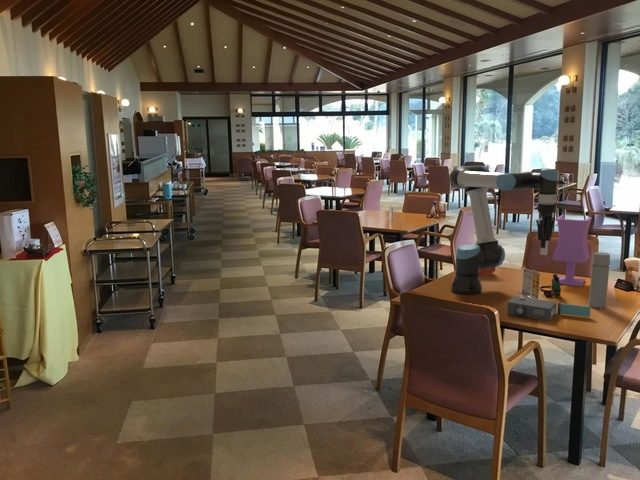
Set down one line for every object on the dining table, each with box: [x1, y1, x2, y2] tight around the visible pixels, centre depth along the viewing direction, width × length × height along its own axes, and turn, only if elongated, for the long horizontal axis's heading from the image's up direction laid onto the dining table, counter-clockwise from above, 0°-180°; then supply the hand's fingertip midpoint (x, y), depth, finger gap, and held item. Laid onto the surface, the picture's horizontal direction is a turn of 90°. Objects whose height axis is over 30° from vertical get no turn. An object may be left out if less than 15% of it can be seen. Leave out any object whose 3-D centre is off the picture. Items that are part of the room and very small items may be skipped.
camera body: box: [506, 295, 558, 322], centre depth 250 cm, size 18×14×6 cm
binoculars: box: [539, 273, 563, 299], centre depth 278 cm, size 9×11×10 cm
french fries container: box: [479, 267, 496, 276], centre depth 322 cm, size 5×11×18 cm, turn 89°
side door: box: [556, 301, 592, 318], centre depth 248 cm, size 2×13×5 cm, turn 64°
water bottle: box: [588, 251, 611, 309], centre depth 260 cm, size 9×8×25 cm
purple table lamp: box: [552, 215, 593, 288], centre depth 301 cm, size 16×16×35 cm
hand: (543, 254), depth 259 cm, fingers closed
